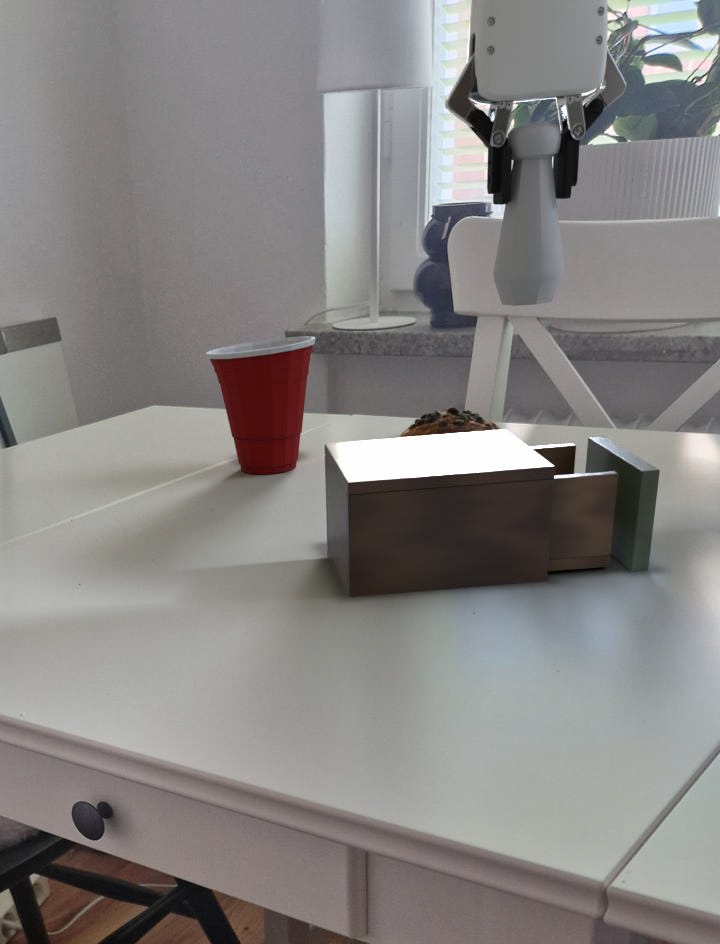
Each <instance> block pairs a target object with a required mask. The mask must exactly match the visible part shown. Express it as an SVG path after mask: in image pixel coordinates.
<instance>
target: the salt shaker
mask: <svg viewBox="0 0 720 944" xmlns="http://www.w3.org/2000/svg"><path fill="white" fill-rule="evenodd" d="M506 137H507V138H508V147H509V146H510V148H512V171H511V200H510V202H508V204H504V205H505V206H504V211H503V217H502V221H501V222H502V223H501V228H500V229H501V230H500V235H499V239H498V245H497V251H496V256H495V262H494V266H493V281H494V284H495V288H496V290H497V293H498V296H499V299H500V302H501V304H502V306H514V307H516V306H518V307H519V306H533V305H534V306H535V305H542V304H548V303H552V302H553V300H554V297H555V294H556V292H557V290H558V288H559V284H560V283H561V280H562V278H563V276H564V272H565V263H564V254H563V245H562V238H561V231H560V222H559V221H560V220H559V214H558V207H557V204H558V203H557V199H556V194H555V184H554V175H553V157H554V155H556V154H558V153H559V150H560V146H561V130H560V126H558V124H556V123H553V122H546V121H543V122H531V123H530V122H529V123H523V124H518V125H516V126H514V127H512V128H511V129H510V130H509V132H507V136H506Z"/></svg>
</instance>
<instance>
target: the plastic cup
mask: <svg viewBox="0 0 720 944" xmlns="http://www.w3.org/2000/svg"><path fill="white" fill-rule="evenodd" d="M315 343H316V337H315V336H307V335H306V336H291V337H281V338H271V339H265V340H264V339H263V340H258V341H251V342H244V343H238V344H233V345H228V346H224V347H220V348H215V349H211V350H209V351H206V353H205V356H206V358H207V359H209V360H210V363H211V365H212V366H213V370H214V373H215V374H216V379H217V380H218V384H219V386H220V390H221V395H222V400H223V403H224V408H225V412H226V416H227V419H228V424H229V429H230V433H231V437H232V438H233V441H234V447H235V451H236V456H237V462H238V464H239V466H240V470H241V472H244V473H248V474H251V475H253V474H255V475H265V474H266V475H268V474H269V475H270V474H278V473H284V472H285V473H286V472H288V471H292V470H294V469H296V468H297V462H298V460H299V452H300V442H301V434H302V433H303V422H304V415H305V414H304V412H305V403H306V395H307V384H308V375H309V373H310V363H311V354H312V352H313V351H312V350H313V345H315Z"/></svg>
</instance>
